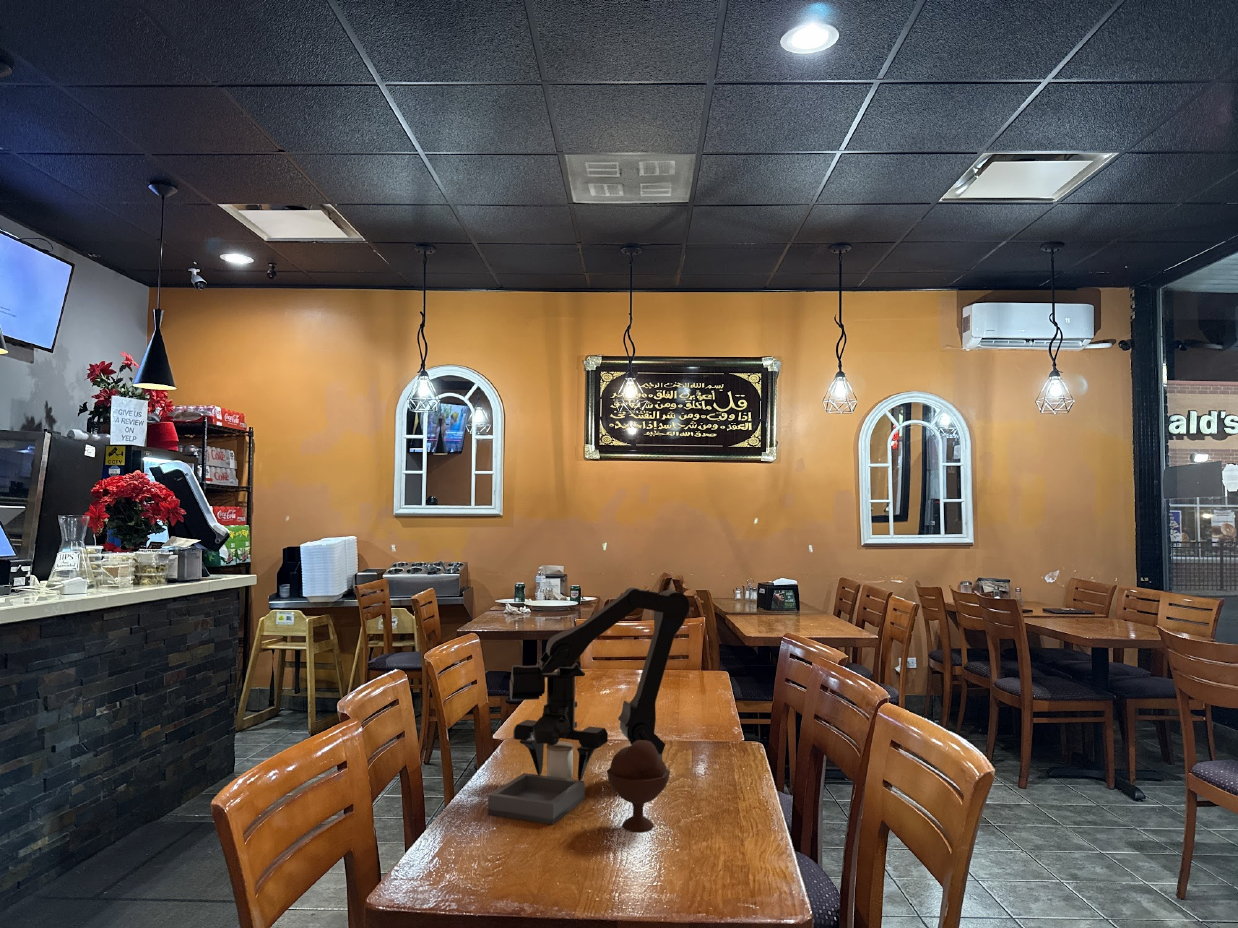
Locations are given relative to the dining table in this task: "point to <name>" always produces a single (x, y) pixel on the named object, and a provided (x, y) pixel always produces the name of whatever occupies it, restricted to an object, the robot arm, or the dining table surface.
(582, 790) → the serving tray
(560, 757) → the cream jar
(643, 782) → the ice cream bowl
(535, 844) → the dining table surface
